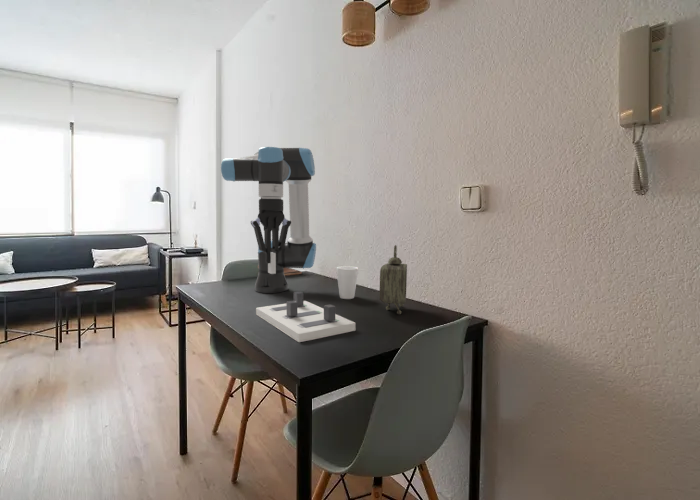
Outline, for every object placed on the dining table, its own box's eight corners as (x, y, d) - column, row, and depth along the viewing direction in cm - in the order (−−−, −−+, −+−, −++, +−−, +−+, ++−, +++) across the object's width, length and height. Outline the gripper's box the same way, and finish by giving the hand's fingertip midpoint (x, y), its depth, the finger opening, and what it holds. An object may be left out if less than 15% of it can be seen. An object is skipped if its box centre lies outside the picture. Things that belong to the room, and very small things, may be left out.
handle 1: (293, 304, 141) (293, 292, 141) (299, 303, 142) (299, 291, 142) (297, 306, 139) (297, 294, 138) (303, 305, 140) (303, 293, 139)
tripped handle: (286, 314, 128) (286, 301, 127) (293, 313, 129) (293, 300, 128) (290, 316, 125) (290, 303, 125) (297, 315, 126) (297, 302, 126)
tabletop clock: (403, 316, 138) (405, 247, 135) (378, 314, 140) (380, 246, 137) (405, 306, 152) (407, 243, 149) (383, 304, 154) (384, 243, 151)
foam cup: (350, 300, 160) (350, 270, 158) (332, 297, 165) (332, 268, 163) (361, 296, 168) (362, 267, 166) (343, 293, 173) (344, 265, 171)
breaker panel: (256, 314, 138) (256, 307, 138) (305, 306, 149) (305, 300, 149) (298, 342, 110) (298, 333, 110) (355, 330, 121) (355, 322, 121)
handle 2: (323, 319, 123) (323, 305, 122) (330, 317, 124) (330, 304, 124) (328, 321, 121) (328, 307, 120) (335, 320, 122) (335, 306, 121)
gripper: (255, 197, 112) (256, 276, 115) (295, 198, 119) (295, 273, 122) (246, 198, 118) (247, 273, 121) (285, 199, 126) (285, 269, 128)
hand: (271, 273), depth 121 cm, fingers closed
